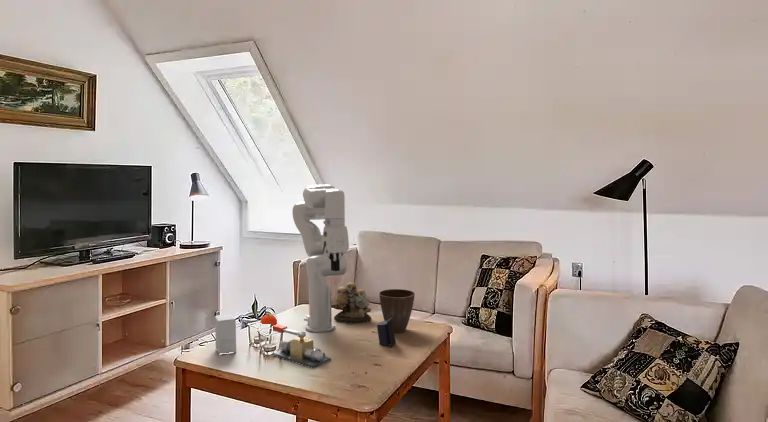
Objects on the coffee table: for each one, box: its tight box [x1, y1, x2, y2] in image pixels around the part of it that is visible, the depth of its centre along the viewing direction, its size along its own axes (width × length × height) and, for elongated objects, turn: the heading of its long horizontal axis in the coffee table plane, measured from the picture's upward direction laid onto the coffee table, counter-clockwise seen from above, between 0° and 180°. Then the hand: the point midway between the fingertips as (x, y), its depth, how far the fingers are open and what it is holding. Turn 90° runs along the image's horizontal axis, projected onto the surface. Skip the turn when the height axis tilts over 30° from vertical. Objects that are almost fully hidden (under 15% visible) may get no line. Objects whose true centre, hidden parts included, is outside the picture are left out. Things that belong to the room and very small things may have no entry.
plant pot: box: [378, 288, 416, 334], centre depth 222 cm, size 15×15×16 cm
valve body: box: [273, 336, 332, 369], centre depth 189 cm, size 20×9×8 cm, turn 53°
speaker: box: [376, 318, 397, 349], centre depth 204 cm, size 8×6×10 cm
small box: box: [214, 313, 237, 355], centre depth 197 cm, size 8×6×13 cm
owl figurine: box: [331, 281, 372, 324], centre depth 238 cm, size 18×12×17 cm, turn 87°
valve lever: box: [272, 323, 307, 338], centre depth 193 cm, size 3×15×2 cm, turn 53°
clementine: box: [259, 313, 278, 326], centre depth 223 cm, size 8×7×7 cm
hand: (335, 270), depth 202 cm, fingers closed
